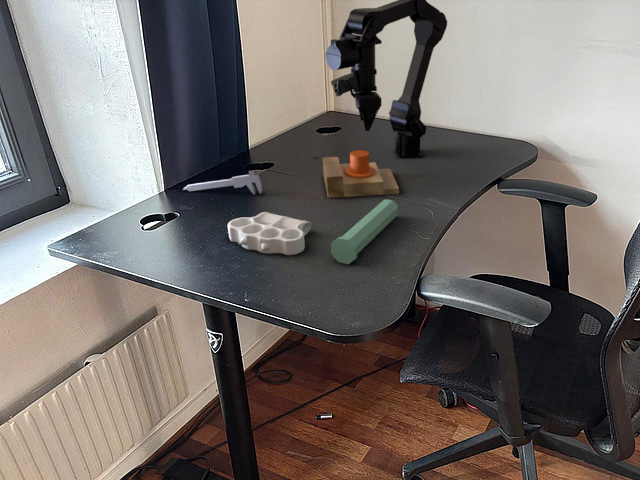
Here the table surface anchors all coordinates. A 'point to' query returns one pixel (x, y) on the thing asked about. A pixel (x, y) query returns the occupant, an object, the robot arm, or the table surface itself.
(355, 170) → the hat
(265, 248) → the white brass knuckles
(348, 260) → the mint green bar
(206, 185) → the caliper
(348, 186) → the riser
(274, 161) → the table surface
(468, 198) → the table surface
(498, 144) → the table surface
